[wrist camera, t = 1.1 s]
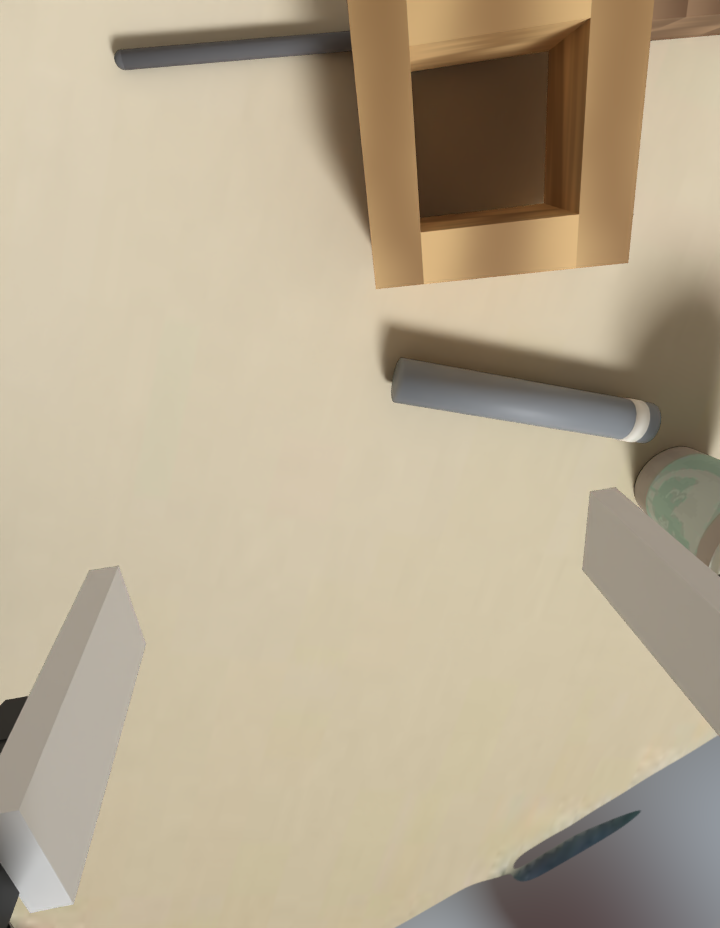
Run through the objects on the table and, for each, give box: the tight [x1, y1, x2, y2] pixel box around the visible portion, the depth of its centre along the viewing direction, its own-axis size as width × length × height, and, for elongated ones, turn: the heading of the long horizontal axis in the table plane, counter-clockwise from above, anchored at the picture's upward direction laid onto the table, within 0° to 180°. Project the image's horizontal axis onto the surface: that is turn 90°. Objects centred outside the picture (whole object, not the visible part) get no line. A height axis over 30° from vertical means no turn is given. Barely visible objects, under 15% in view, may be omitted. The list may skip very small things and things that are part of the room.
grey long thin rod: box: [114, 31, 352, 70], centre depth 28 cm, size 17×1×1 cm, turn 95°
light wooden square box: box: [347, 0, 654, 289], centre depth 27 cm, size 12×12×8 cm
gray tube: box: [391, 358, 661, 443], centre depth 37 cm, size 3×3×18 cm
